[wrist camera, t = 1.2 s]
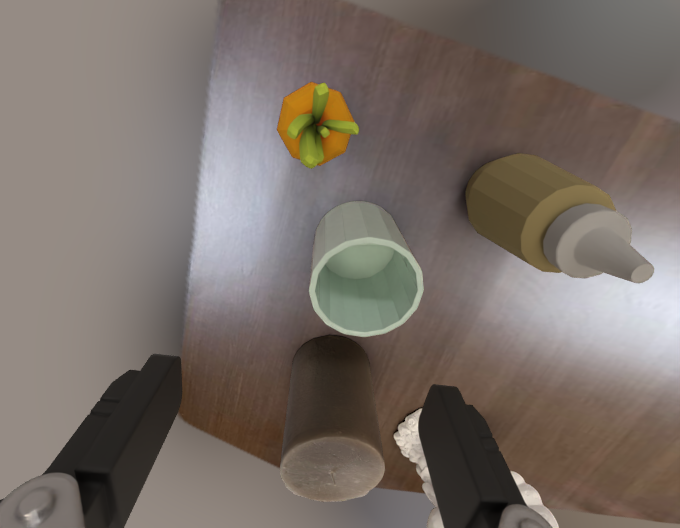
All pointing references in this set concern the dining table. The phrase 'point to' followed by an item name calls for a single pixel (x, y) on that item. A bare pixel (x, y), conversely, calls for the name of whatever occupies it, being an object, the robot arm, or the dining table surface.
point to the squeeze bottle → (552, 219)
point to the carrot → (315, 124)
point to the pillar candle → (331, 423)
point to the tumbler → (363, 271)
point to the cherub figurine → (413, 449)
